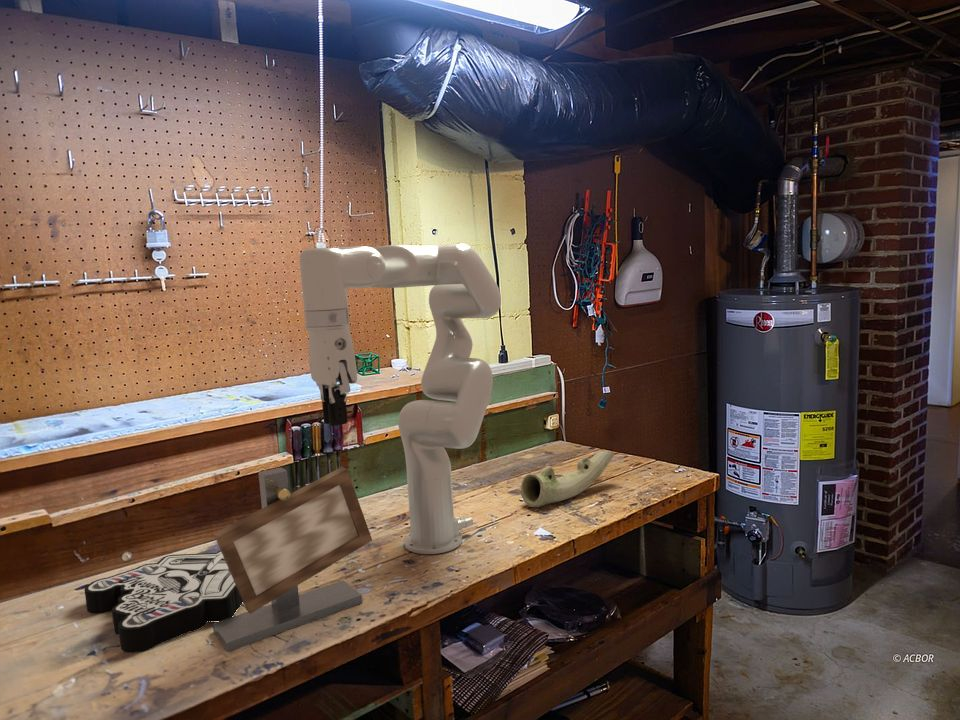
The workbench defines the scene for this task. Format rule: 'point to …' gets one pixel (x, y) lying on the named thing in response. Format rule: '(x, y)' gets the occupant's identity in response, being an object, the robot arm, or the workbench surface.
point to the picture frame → (293, 539)
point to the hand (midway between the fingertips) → (335, 422)
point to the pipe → (563, 481)
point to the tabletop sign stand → (290, 605)
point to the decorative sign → (165, 598)
